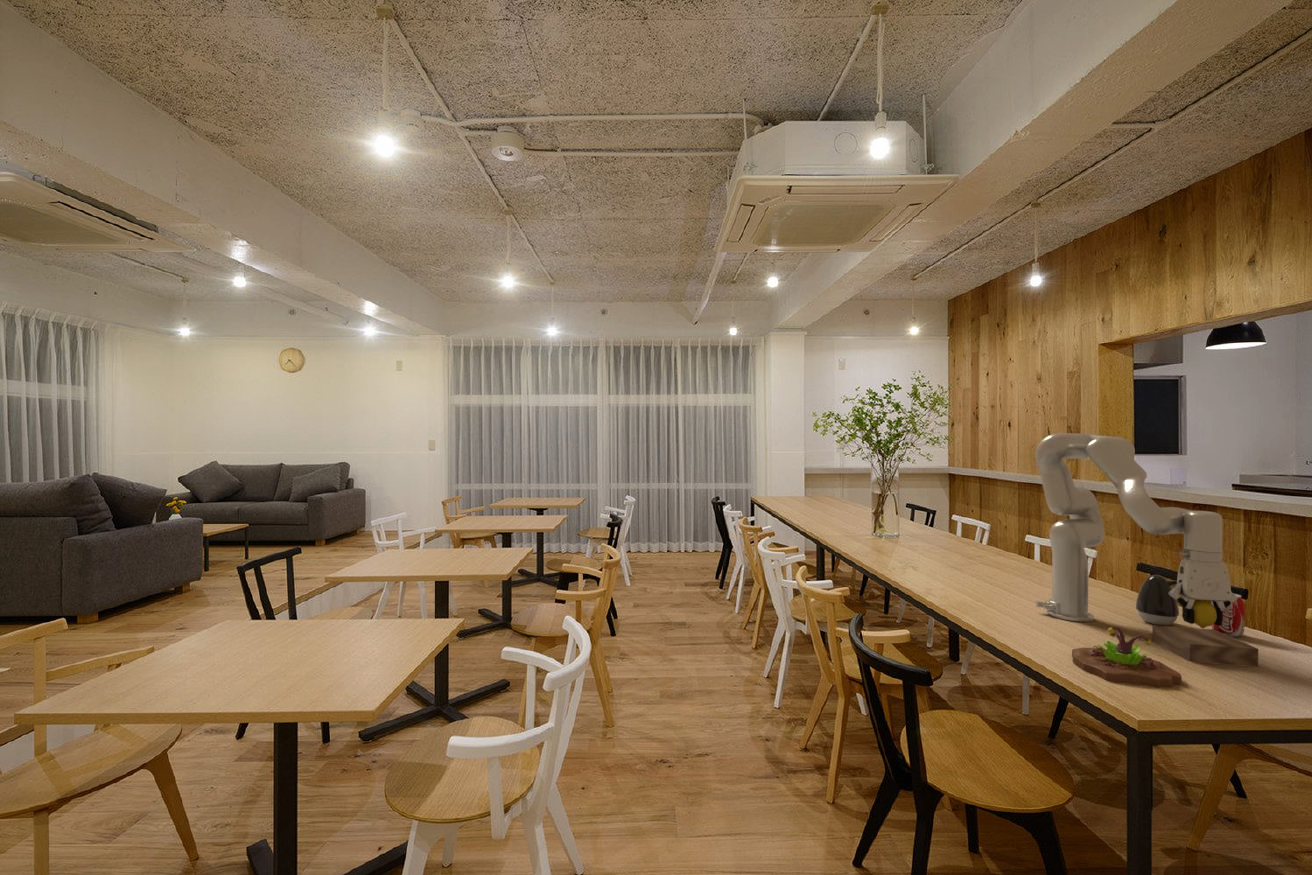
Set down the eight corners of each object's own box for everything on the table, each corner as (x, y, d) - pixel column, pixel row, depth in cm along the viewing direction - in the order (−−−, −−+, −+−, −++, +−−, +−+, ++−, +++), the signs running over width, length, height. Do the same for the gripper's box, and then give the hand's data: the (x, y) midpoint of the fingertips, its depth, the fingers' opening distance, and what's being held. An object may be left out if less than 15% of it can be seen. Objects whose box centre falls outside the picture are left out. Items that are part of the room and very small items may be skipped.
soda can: (1251, 639, 165) (1251, 598, 165) (1222, 637, 166) (1223, 596, 166) (1231, 631, 172) (1232, 591, 172) (1204, 629, 173) (1204, 590, 173)
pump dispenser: (1180, 630, 172) (1181, 580, 172) (1135, 623, 178) (1136, 575, 178) (1179, 622, 179) (1179, 574, 179) (1136, 615, 186) (1136, 569, 186)
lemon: (1211, 632, 150) (1211, 602, 150) (1184, 626, 155) (1184, 597, 155) (1220, 629, 152) (1220, 600, 152) (1193, 623, 157) (1193, 595, 157)
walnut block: (1189, 663, 148) (1189, 643, 148) (1152, 642, 162) (1152, 625, 162) (1258, 668, 145) (1258, 648, 145) (1213, 647, 159) (1214, 629, 159)
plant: (1055, 654, 153) (1055, 613, 153) (1132, 657, 151) (1133, 615, 151) (1107, 686, 133) (1107, 639, 133) (1197, 691, 131) (1197, 642, 131)
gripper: (1174, 557, 152) (1174, 625, 152) (1251, 561, 148) (1251, 630, 148) (1156, 552, 159) (1156, 616, 159) (1229, 555, 155) (1229, 621, 155)
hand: (1202, 622), depth 154 cm, fingers closed on lemon, 5 cm apart
